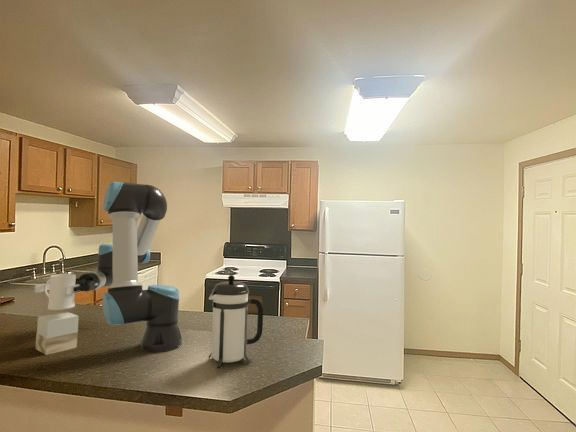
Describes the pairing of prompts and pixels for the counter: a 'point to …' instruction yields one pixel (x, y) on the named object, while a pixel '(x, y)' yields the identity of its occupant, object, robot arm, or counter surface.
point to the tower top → (57, 324)
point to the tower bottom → (56, 343)
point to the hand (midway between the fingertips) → (50, 289)
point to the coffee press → (232, 322)
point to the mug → (60, 291)
